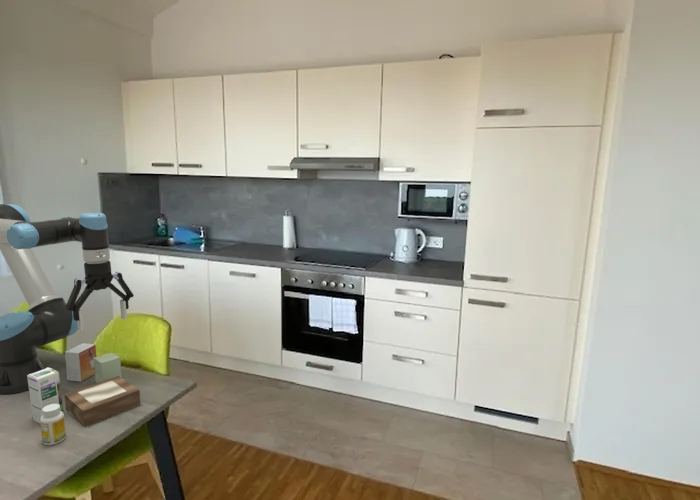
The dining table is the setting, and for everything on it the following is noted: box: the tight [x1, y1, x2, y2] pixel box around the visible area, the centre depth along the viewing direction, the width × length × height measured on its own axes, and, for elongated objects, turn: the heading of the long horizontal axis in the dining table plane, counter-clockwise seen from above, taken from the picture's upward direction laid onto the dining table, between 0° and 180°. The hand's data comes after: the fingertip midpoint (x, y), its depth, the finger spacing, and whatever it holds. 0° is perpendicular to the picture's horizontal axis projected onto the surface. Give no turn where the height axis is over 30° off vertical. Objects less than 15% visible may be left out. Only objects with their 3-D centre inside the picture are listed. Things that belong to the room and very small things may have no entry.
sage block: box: [94, 352, 123, 384], centre depth 155 cm, size 6×6×9 cm
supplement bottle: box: [39, 404, 67, 446], centre depth 123 cm, size 5×5×10 cm
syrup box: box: [27, 367, 65, 425], centre depth 132 cm, size 6×6×14 cm
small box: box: [64, 342, 97, 383], centre depth 158 cm, size 8×6×10 cm
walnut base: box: [64, 376, 141, 428], centre depth 139 cm, size 14×16×5 cm
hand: (103, 324), depth 151 cm, fingers open, 13 cm apart
